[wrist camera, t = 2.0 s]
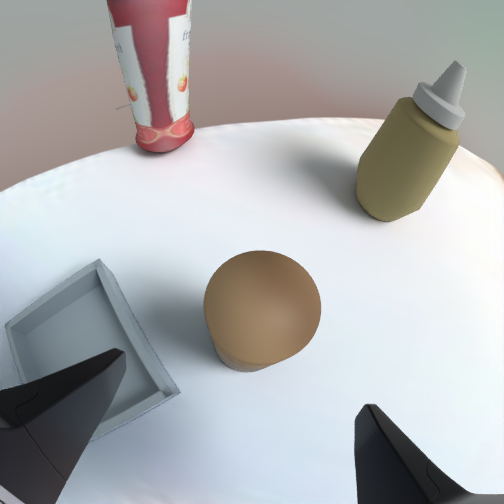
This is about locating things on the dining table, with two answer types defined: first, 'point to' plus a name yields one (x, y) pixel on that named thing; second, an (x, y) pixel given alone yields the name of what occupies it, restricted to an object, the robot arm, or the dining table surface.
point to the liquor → (155, 68)
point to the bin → (90, 342)
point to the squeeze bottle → (412, 148)
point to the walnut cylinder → (260, 309)
